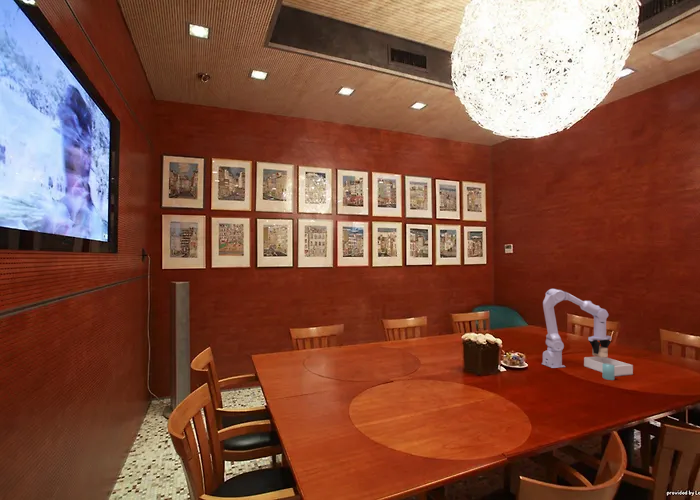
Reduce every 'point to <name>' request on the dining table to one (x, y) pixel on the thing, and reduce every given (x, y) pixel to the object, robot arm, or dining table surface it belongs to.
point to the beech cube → (601, 352)
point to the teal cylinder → (608, 371)
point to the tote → (597, 362)
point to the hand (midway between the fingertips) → (599, 353)
